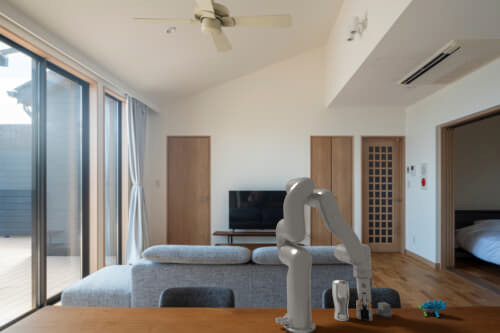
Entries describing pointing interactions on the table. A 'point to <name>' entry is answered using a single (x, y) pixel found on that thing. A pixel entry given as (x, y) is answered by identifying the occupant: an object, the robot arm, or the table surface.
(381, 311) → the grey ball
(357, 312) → the wooden tan cube
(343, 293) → the beer glass
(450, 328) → the table surface
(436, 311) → the blue lumpy figure
